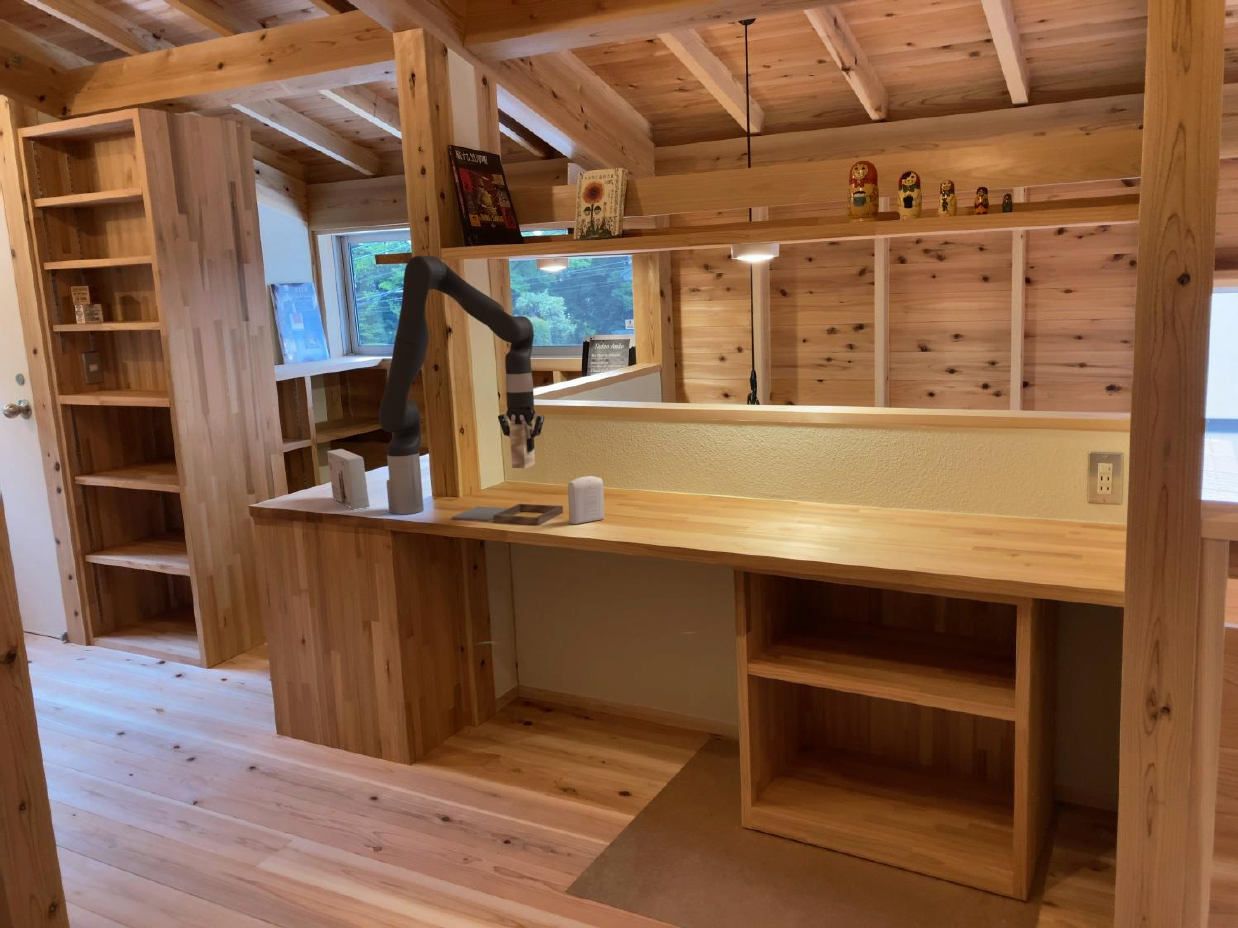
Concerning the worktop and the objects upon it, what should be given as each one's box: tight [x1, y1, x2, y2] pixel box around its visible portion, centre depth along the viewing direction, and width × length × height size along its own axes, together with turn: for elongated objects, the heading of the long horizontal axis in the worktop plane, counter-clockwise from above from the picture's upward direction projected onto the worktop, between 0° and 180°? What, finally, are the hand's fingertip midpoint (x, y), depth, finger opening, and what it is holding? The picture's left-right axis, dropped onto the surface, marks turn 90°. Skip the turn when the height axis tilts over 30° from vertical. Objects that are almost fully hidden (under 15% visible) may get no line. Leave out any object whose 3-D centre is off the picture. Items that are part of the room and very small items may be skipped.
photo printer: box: [567, 475, 605, 525], centre depth 262 cm, size 10×4×12 cm, turn 123°
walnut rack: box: [493, 503, 564, 526], centre depth 270 cm, size 14×15×2 cm
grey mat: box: [451, 505, 510, 522], centre depth 276 cm, size 12×14×1 cm
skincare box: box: [326, 448, 370, 510], centre depth 297 cm, size 21×5×16 cm, turn 33°
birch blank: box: [509, 421, 536, 469], centre depth 267 cm, size 4×6×12 cm, turn 157°
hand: (522, 450), depth 267 cm, fingers closed on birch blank, 4 cm apart
